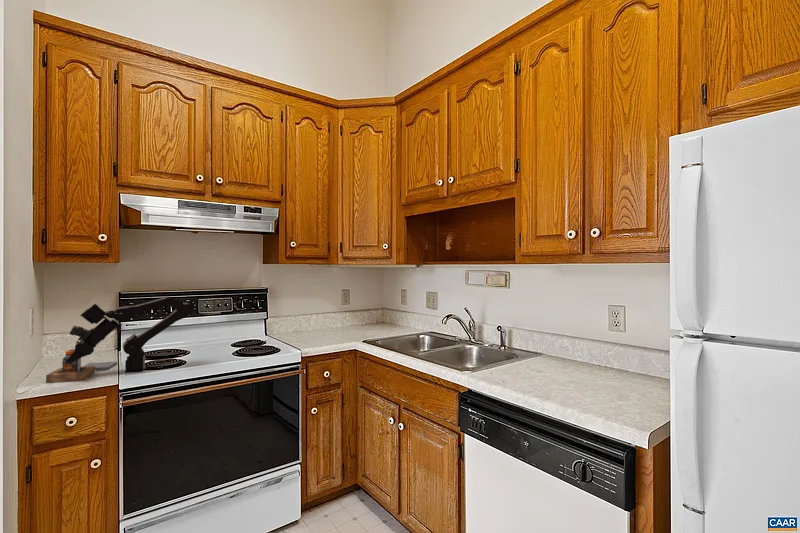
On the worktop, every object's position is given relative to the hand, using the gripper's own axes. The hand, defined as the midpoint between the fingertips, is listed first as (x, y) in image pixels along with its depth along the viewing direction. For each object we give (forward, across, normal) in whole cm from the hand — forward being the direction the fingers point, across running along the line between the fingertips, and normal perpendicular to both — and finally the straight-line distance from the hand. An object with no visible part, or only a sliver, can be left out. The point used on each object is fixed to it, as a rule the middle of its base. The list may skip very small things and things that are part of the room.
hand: (67, 360), depth 167 cm
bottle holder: (+4, 0, +6) cm, 7 cm away
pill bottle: (+4, 0, +6) cm, 7 cm away
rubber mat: (-2, -14, +12) cm, 19 cm away
